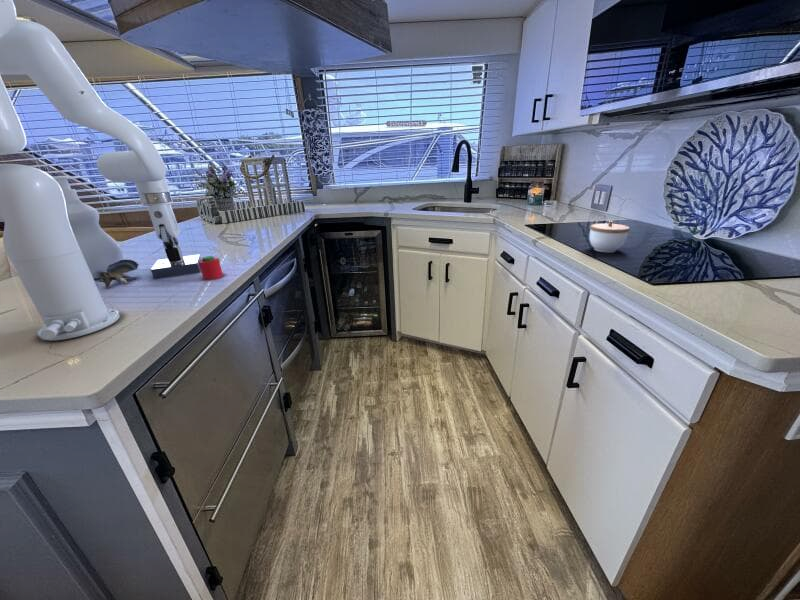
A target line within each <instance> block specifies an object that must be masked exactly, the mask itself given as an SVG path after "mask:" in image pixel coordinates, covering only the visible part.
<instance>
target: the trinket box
mask: <svg viewBox="0 0 800 600" xmlns="http://www.w3.org/2000/svg"><path fill="white" fill-rule="evenodd" d="M613 221H614V220H608V223H607V222H605V223H604V222H603V223H601V222H600V223H593V224H590V227H589V229H590V230H589V235H588V236H589V237H588V238H589V244H590V246H591V247H592V248H593V250H594V251H596V252H600V253H615V252H616V251H618V250H619V249H620V248H622V247H623V245H624V244H625V243H626V241H627V238H628V235H629V232H630V230H631V228H630V226H628V225H625V224H619V223H614V222H613Z"/></svg>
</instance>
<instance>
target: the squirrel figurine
mask: <svg viewBox="0 0 800 600" xmlns="http://www.w3.org/2000/svg"><path fill="white" fill-rule="evenodd" d="M138 268H139V263H137V261H135V260H132V259H123V260H120V261H118V262H116V263H114V264H111V265H109V266H108V269H107V272H103V271H100V270H97V271H95V272H93V275H94V276H95V277H97V279H101V280H99V281H98V282H99V283H104V284H105V289H108V288H110V286H111V283H112V282H113V281H116V282H121V283H124V284H126V285H128V282H127V280H126V279H137V277H136V276H135V277H134V276H130V275H128V274H126V273H130V272H133V271H135V270H138Z"/></svg>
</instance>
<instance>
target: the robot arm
mask: <svg viewBox="0 0 800 600" xmlns="http://www.w3.org/2000/svg"><path fill="white" fill-rule="evenodd" d="M2 75H4V76H5V75H9V76H12V75H17V76H18V75H27V77H29V79H31V81H32V83H34V84H35V86H36V87H38V89H39V90H40V92H42V94H43V95H44V97H46V98H47V100H48V101H49V102H50V103H51V105H52V106H53V107H54V108H55V109H56V111H57V112H58V113H59V115H61V116H62V118H64V119H65V120H67V121H68V122H70V123H73V124H75V125H79V126H81V127H84V128H87V129H90V130H93V131H96V132H99V133H102V134H105V135H108V136H109V137H112V138H114V139H116V140H118V141H120V142H121V143H122V144H124V145H126V147H128V148H129V149H130V150H123V151H109V152H108V151H107V152H105V153H103V154H101V155H99V157H98V158H97V161H96V168H97V170H98V172H99V173H100V174H101V175H102V176H103V177H104V178H105V179H106V180H108V181H111V182H113V183H119V184H132V183H134V185H135V187H136V190H137V193H138V196H139V200H140V202H141V205H142V206H143V207H147V210H148V214H149V217H150V221H151V223H152V226H153V229H154V232H155V234H156V237H157V238H158V239H159V240H160V241H162V245H163V248H164V251H165V254H166V259H168V261H169V262H174V261H180V260H181V258H180V255H179V251H178V248H176V246H175V244H178V245H179V241H178V237H179V236H180V234H181V230H180V227H179V224H178V221H177V219H176V216H175V213H174V211H173V208H172V205H171V204H174V201H173V198H172V195H171V191H170V189H169V185H168V182H167V179H166V174H167V166H166V164H165V162H164V159H163V157H162V156H161V154H160V152H159V151H158V149H157V147H156V146H155V145H154V142H152V140H151V139H150V137H149V136H148V135H147V134H146V133H145V131H143V130H142V129H141V128H140V127H138V126H137V125H136V124H135V123H134V122H132V121H131V120H130V119H128V118H127V117H125V116H124V115H122V114H120V113H119V112H117V111H116V110H114V109H112V108H111V107H109V106H108V105H107V104H106V103H104V101H103V100H102V99H101V97H100V95H99V94H98V93H97V91H96V90H95V89H94V87H93V86H92V84H91V83H90V81H89V80H88V79H87V78H86V76H85V74H84V73H83V72H82V70H81V69H80V67H79V65H78V64H77V63H76V61H75V60H74V59H73V58H72V56H71V54H70V53H69V52H68V50H67V49H66V47H65V46H64V44H63V43H62V42H61V40H60V39H59V38H58V36H56V34H55V33H54V32H53V31H52V30H51V29H49V28H48V27H46V26H45V25H43V24H41V23H38V22H36V21H32V20H28V19H18V18H17V9H16V5H15V2H14V0H0V156H5V155H13V154H17V153H20V152H22V151H23V150H24V149H25V148H26V146H27V142H28V141H27V137H26V136H27V135H26V133H25V129H24V127H23V125H22V122H21V120H20V118H19V115H18V113H17V110H16V109H15V107H14V104H13V101H12V99H11V97H10V94H9V92H8V90H7V88H6V87H7V86H6V85H5V83H4V81H3V79H2ZM0 223H4V227H3V234H2V244H3V248H4V251H5V253H6V255H7V257H8V259H9V261H10V262H11V264H12V266H13V268H14V270H15V271H16V273H17V275H18V277H19V279H20V281H21V283H22V284H23V286H24V288H25V290H26V292H27V294H28V295H29V297H30V299H31V301H32V303H33V305H34V307H35V308H36V311H37V312H38V314H39V316H40V318H41V320H42V321H43V323H44V325H43V326H42V327H41V328H40V329H38V331H37V336H38V338H39V339H40V340H42V341H49V342H50V341H51V342H53V341H54V342H55V341H63V340H70V339H73V338H79V337H83V336H86V335H89V334H93V333H95V332H98V331H101V330H103V329H106V328H107V327H109V326H111V325H113V324H115V323H116V322H117V321H118V320H119V319H120V316H121V315H120V312H119V311H118V310H116V309H113V308H107V306H106V304H105V302H104V299H103V297H102V295H101V293H100V291H99V288H98V286H97V284H96V281H95V279H93V277H92V275H91V272H90V270H89V268H88V265H87V263H86V261H85V259H84V256H83V254H82V252H81V250H80V248H79V245H78V243H77V241H76V238H75V236H74V234H73V231H72V228H71V225H70V222H69V219H68V215H67V209H66V203H65V198H64V194H63V192H62V189H61V187H60V186H59V184H58V183H57V181H56V179H54V178H53V177H52V175H51V174H49V173H47V172H46V171H44V170H42V169H40V168H37V167H34V166H31V165H26V164H19V163H0Z"/></svg>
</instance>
